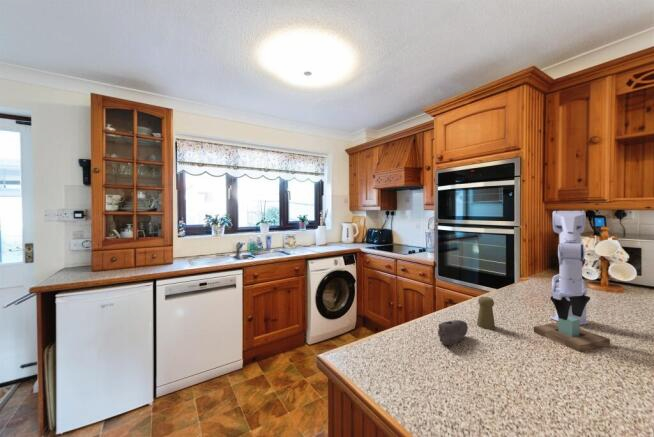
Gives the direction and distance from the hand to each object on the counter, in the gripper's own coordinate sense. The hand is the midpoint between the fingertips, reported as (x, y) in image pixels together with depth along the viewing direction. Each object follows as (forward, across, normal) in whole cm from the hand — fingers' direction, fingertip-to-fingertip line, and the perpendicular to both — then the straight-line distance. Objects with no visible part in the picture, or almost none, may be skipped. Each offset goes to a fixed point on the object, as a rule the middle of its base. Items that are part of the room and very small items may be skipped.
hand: (569, 317), depth 90 cm
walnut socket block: (+7, 0, 0) cm, 7 cm away
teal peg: (+7, 0, 0) cm, 7 cm away
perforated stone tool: (+7, +38, -12) cm, 41 cm away
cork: (+7, +18, -17) cm, 26 cm away
